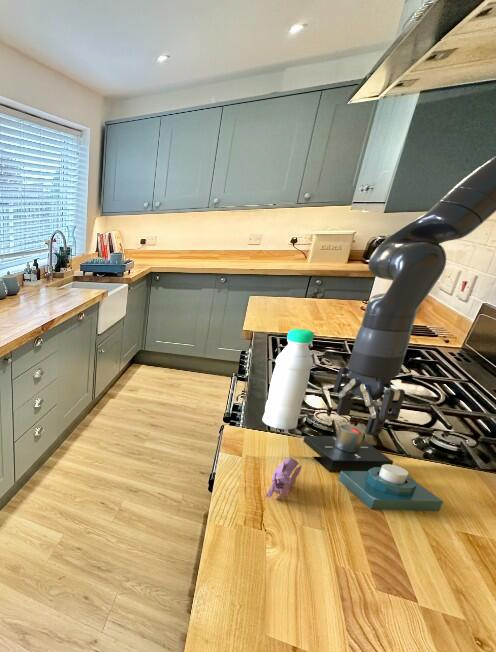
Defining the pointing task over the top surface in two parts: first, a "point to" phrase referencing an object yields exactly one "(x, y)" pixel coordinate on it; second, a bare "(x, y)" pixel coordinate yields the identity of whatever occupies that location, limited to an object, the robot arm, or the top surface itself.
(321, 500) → the top surface
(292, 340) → the white milk bottle
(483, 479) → the top surface
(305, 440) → the lock base
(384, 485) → the button base
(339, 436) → the lock knob
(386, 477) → the white push button
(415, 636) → the top surface
